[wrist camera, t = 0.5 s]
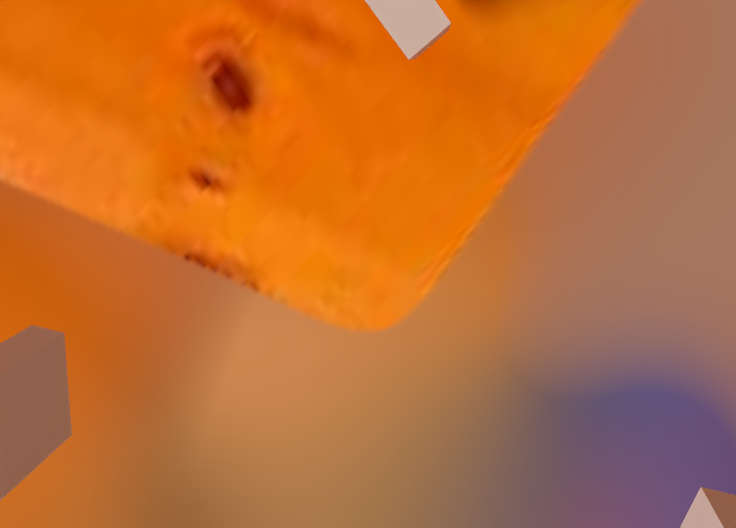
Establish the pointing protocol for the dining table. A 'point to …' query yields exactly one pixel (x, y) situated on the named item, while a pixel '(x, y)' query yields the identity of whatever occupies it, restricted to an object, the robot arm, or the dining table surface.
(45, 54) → the dining table surface
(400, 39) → the swing arm
